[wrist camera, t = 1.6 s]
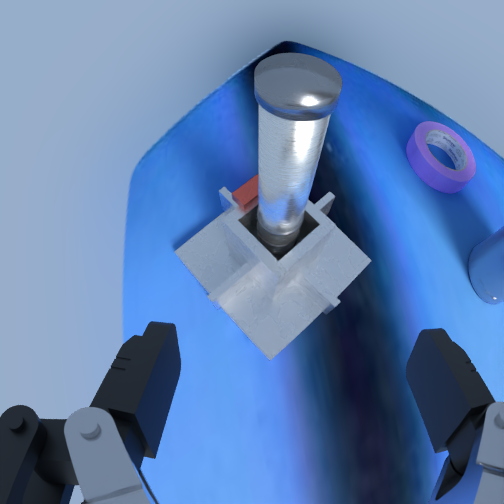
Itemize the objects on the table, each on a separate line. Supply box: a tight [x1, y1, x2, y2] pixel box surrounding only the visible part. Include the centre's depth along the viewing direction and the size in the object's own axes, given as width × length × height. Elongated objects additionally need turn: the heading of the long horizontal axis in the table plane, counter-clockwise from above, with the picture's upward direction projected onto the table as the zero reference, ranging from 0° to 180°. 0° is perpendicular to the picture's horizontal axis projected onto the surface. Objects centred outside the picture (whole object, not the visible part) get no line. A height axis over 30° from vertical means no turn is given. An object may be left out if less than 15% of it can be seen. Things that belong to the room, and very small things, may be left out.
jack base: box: [175, 174, 371, 361], centre depth 31 cm, size 17×17×11 cm
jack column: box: [255, 53, 342, 261], centre depth 23 cm, size 4×4×23 cm
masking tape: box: [406, 121, 476, 193], centre depth 40 cm, size 12×12×4 cm
